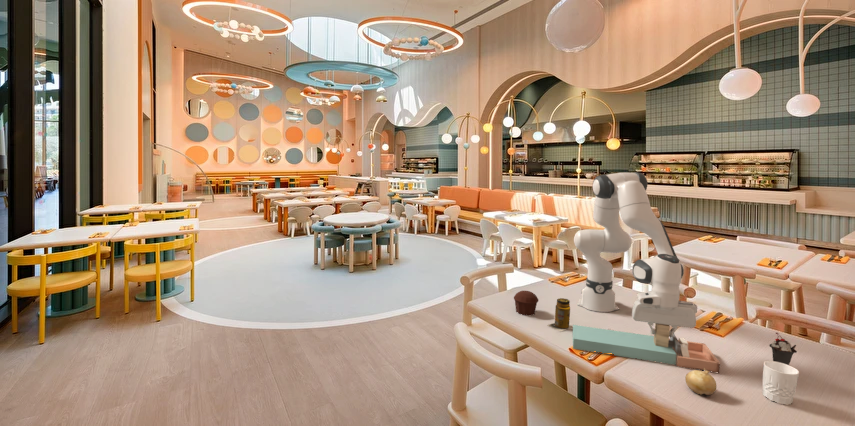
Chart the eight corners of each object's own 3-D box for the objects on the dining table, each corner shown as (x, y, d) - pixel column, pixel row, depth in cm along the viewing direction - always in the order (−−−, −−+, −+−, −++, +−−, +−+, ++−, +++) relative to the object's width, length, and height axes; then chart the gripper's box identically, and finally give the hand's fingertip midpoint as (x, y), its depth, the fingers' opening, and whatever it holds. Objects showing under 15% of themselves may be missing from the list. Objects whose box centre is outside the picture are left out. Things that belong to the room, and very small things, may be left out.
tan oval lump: (713, 402, 115) (716, 379, 114) (682, 391, 121) (684, 370, 120) (716, 391, 121) (719, 369, 120) (686, 381, 126) (688, 360, 126)
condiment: (573, 327, 168) (575, 300, 167) (560, 332, 163) (562, 304, 162) (559, 321, 174) (560, 296, 173) (546, 326, 169) (548, 299, 168)
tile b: (678, 344, 141) (684, 343, 141) (681, 358, 140) (688, 358, 140) (680, 346, 137) (686, 346, 136) (684, 361, 136) (690, 361, 135)
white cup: (758, 388, 123) (762, 358, 122) (791, 396, 119) (796, 365, 117) (761, 400, 117) (765, 368, 115) (797, 409, 112) (801, 377, 111)
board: (572, 333, 161) (573, 324, 161) (666, 347, 150) (667, 337, 149) (572, 348, 148) (573, 338, 148) (675, 365, 137) (676, 354, 136)
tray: (666, 346, 151) (667, 338, 150) (704, 352, 147) (704, 343, 146) (677, 366, 136) (678, 357, 135) (719, 373, 132) (720, 363, 131)
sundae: (760, 371, 133) (765, 329, 131) (778, 370, 134) (783, 329, 132) (779, 382, 127) (785, 338, 125) (798, 381, 127) (804, 338, 125)
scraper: (651, 336, 150) (653, 316, 149) (672, 339, 148) (674, 319, 147) (657, 350, 139) (659, 328, 138) (680, 353, 137) (682, 332, 136)
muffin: (543, 313, 183) (544, 293, 182) (527, 318, 177) (528, 297, 176) (523, 306, 193) (524, 286, 192) (508, 310, 187) (508, 290, 186)
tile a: (678, 337, 146) (685, 338, 145) (677, 350, 147) (683, 351, 146) (682, 343, 142) (688, 344, 141) (680, 356, 142) (687, 357, 141)
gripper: (695, 299, 141) (691, 336, 143) (632, 293, 148) (629, 327, 150) (700, 305, 136) (696, 343, 137) (635, 298, 142) (632, 334, 144)
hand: (661, 335), depth 144 cm, fingers closed on scraper, 4 cm apart
